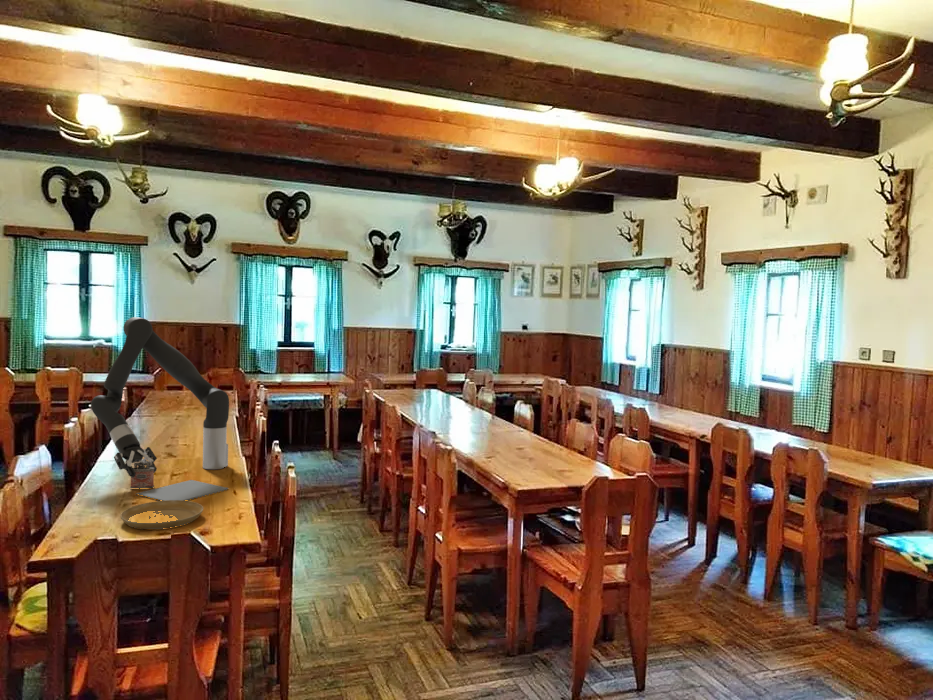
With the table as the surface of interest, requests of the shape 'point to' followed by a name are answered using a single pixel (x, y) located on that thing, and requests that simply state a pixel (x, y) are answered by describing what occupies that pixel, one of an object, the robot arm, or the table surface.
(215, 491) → the mat
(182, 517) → the plant saucer
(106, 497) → the table surface
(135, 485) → the lighter
